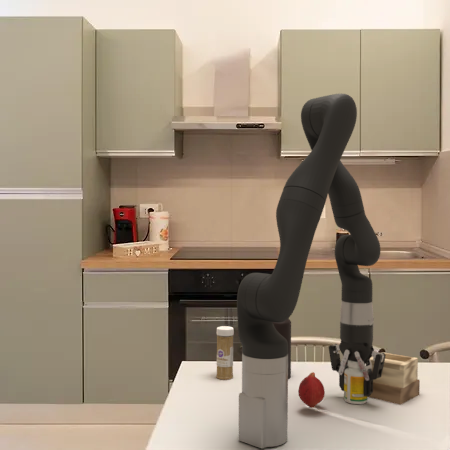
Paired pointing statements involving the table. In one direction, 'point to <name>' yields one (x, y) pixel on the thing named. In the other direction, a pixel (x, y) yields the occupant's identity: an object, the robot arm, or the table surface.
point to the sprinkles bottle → (225, 352)
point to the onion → (311, 390)
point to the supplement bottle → (354, 384)
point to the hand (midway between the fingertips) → (355, 392)
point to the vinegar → (285, 331)
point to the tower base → (395, 392)
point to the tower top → (398, 370)
